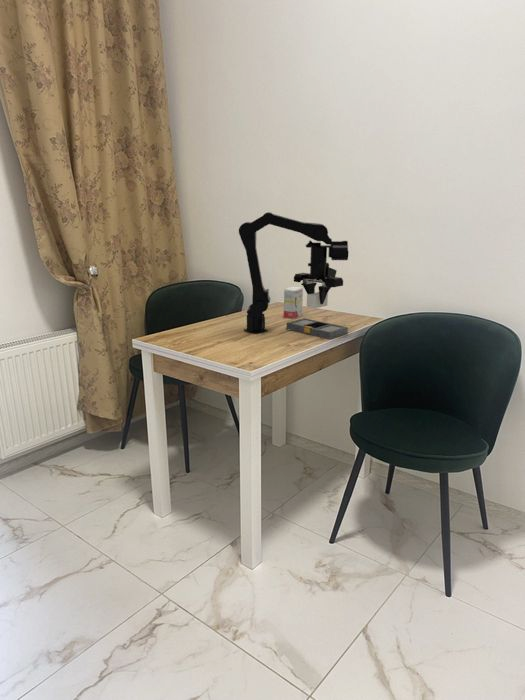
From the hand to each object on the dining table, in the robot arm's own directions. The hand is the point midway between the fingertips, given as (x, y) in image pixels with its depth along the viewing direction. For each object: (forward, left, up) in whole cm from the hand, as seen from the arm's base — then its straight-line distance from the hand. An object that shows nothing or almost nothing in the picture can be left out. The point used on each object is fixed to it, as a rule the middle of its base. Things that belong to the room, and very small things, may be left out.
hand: (317, 303), depth 181 cm
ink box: (+13, +23, -11) cm, 29 cm away
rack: (0, 0, -11) cm, 11 cm away
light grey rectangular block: (0, 0, -1) cm, 1 cm away
